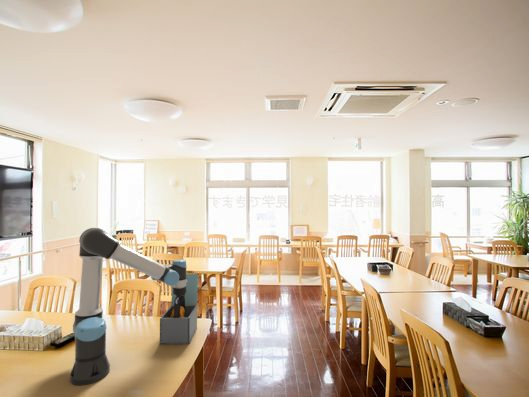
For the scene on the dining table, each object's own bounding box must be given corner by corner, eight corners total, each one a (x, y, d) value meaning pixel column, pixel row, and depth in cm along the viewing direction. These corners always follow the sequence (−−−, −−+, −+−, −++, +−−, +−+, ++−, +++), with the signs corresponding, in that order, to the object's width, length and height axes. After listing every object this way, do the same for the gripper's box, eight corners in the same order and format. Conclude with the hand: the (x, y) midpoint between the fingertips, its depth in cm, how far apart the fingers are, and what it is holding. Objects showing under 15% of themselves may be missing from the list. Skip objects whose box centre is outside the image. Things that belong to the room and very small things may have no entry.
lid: (198, 273, 178) (198, 273, 179) (172, 274, 178) (173, 273, 178) (196, 305, 174) (197, 305, 175) (171, 305, 174) (171, 305, 175)
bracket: (191, 325, 166) (191, 305, 166) (184, 331, 159) (184, 309, 159) (175, 323, 169) (175, 303, 169) (168, 328, 162) (168, 307, 162)
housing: (189, 343, 154) (189, 318, 154) (159, 344, 153) (159, 318, 154) (196, 328, 174) (197, 305, 174) (170, 328, 173) (171, 305, 174)
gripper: (181, 292, 154) (181, 333, 153) (190, 281, 175) (190, 318, 175) (167, 292, 154) (167, 334, 153) (178, 281, 175) (178, 318, 174)
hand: (179, 325), depth 164 cm, fingers closed on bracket, 9 cm apart
